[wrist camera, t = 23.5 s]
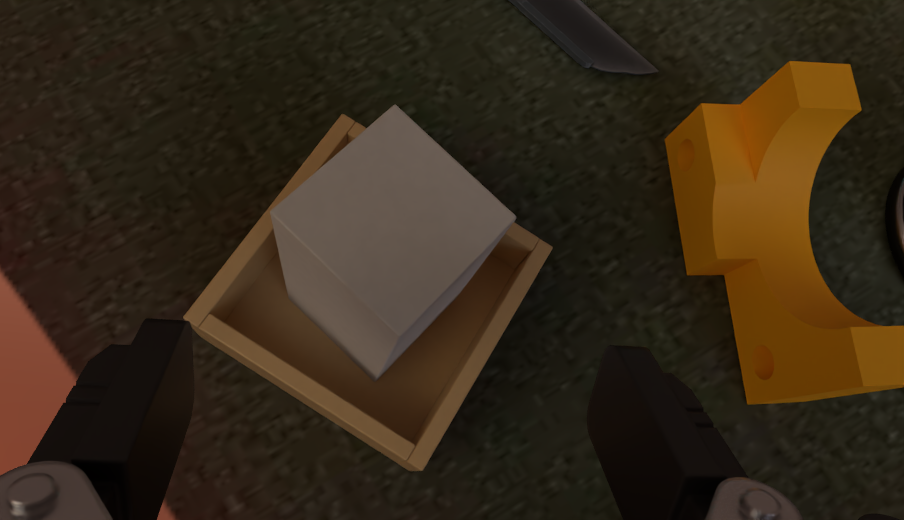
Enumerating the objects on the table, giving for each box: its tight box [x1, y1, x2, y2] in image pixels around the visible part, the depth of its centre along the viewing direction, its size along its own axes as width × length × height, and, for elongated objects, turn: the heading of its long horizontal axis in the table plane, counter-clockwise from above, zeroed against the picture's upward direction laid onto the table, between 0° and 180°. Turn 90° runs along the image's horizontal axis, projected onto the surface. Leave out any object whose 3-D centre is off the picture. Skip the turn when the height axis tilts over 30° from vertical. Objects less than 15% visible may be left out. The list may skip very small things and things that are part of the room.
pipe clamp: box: [665, 61, 904, 405], centre depth 27 cm, size 12×4×6 cm, turn 3°
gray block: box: [270, 105, 516, 382], centre depth 22 cm, size 4×4×9 cm
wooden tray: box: [183, 114, 552, 471], centre depth 25 cm, size 9×9×3 cm
